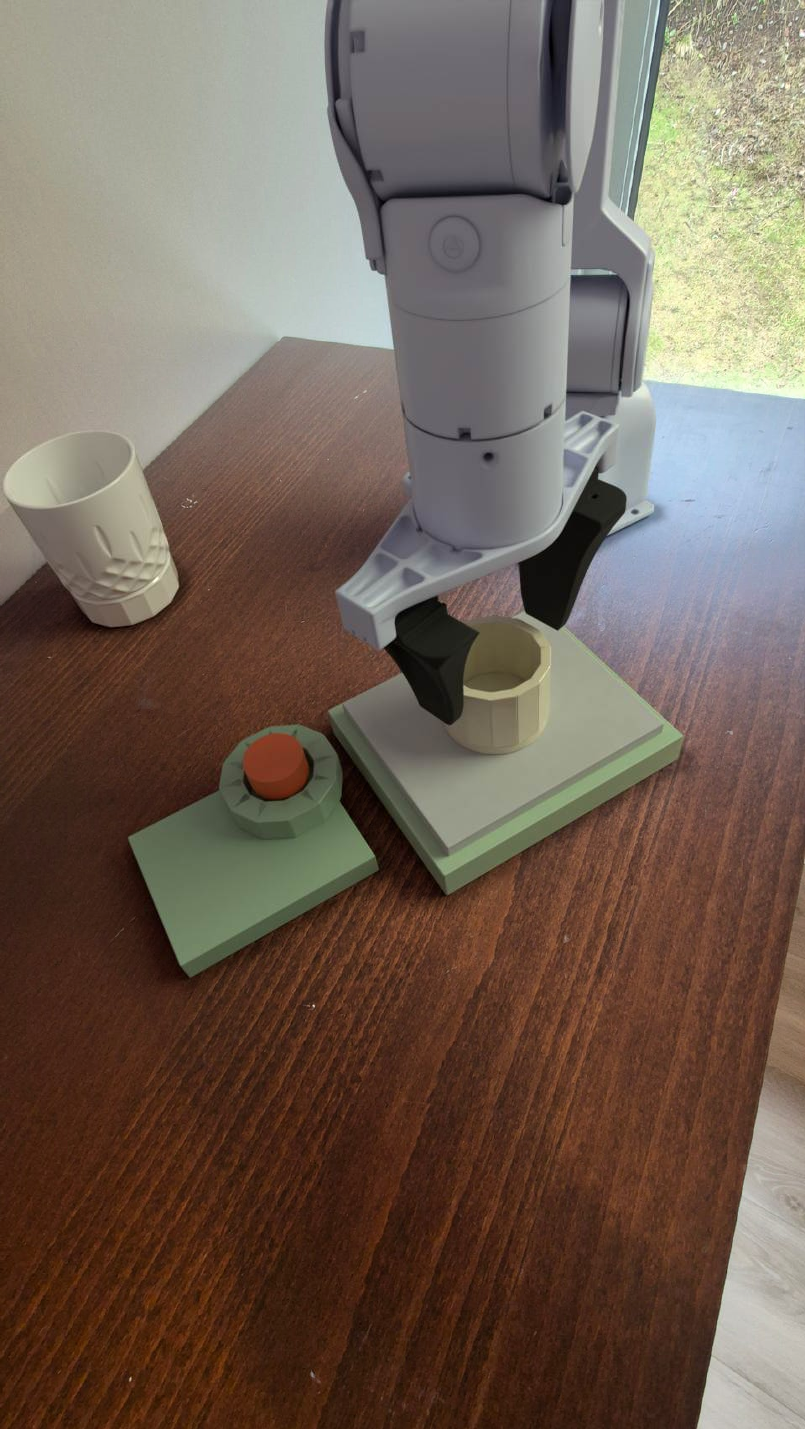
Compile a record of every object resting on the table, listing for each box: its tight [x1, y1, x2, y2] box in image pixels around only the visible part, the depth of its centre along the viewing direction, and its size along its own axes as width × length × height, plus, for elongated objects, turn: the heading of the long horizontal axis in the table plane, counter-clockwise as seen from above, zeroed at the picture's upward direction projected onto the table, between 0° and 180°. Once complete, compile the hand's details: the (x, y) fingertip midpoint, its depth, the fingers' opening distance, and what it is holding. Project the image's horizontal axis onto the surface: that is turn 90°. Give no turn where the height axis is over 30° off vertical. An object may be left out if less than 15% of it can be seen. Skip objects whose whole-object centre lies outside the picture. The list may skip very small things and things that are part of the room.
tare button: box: [243, 733, 309, 800], centre depth 40 cm, size 3×3×2 cm
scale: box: [327, 610, 684, 896], centre depth 43 cm, size 14×12×3 cm
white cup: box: [1, 429, 180, 628], centre depth 52 cm, size 8×8×10 cm
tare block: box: [127, 724, 380, 978], centre depth 40 cm, size 11×9×3 cm
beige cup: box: [444, 614, 551, 755], centre depth 40 cm, size 5×6×4 cm
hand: (494, 663), depth 39 cm, fingers open, 7 cm apart
